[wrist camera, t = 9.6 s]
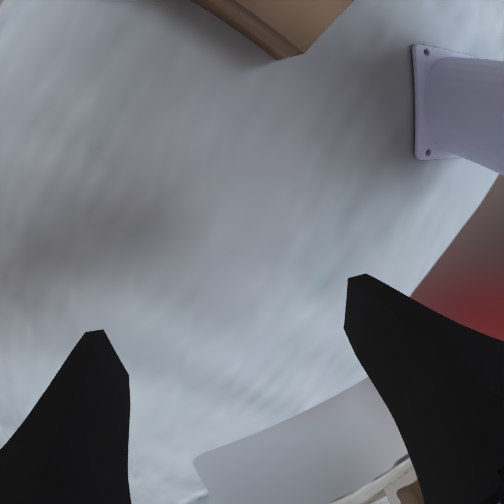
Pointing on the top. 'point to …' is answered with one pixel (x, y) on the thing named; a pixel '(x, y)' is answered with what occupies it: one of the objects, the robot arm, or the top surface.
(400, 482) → the gable box
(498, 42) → the top surface
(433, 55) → the robot arm
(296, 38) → the walnut base
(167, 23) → the top surface
